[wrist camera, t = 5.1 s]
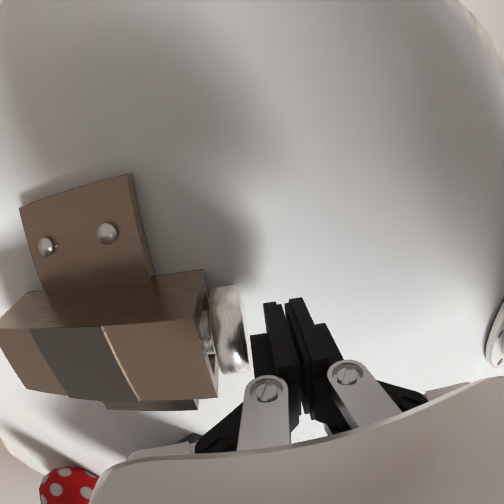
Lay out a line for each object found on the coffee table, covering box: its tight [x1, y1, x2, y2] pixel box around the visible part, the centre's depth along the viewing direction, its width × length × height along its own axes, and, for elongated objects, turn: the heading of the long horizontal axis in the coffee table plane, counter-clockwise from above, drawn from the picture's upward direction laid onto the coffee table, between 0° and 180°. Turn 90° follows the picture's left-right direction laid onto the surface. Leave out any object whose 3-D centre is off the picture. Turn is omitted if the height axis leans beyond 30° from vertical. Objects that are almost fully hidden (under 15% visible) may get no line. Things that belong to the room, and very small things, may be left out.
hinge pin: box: [200, 284, 252, 374], centre depth 12 cm, size 14×4×4 cm, turn 97°
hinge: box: [0, 173, 219, 411], centre depth 12 cm, size 12×15×4 cm
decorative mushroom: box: [39, 467, 99, 504], centre depth 20 cm, size 11×11×15 cm
